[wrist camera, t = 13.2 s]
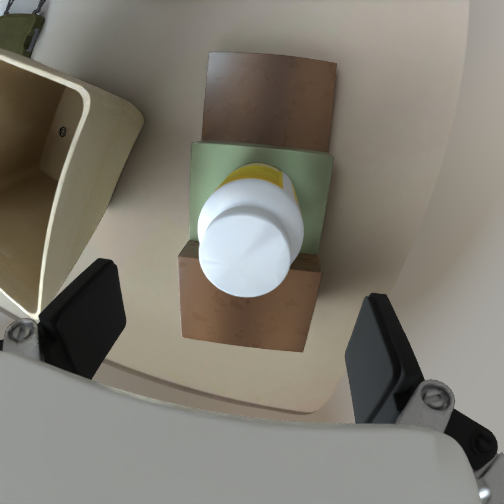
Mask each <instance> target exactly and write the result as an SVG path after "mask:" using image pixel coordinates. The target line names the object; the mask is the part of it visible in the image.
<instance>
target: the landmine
mask: <svg viewBox="0 0 504 504" xmlns="http://www.w3.org/2000/svg"><path fill="white" fill-rule="evenodd" d="M42 1H43V2H42ZM45 1H46V0H40V2H39V5H38V8H37V9H36V10H34V11H33V13H32V14H9V12H8V10H9V9H10V7H11V5H12V4H13V2H14V0H12V2H11V0H9V2H8V5H7V7H6V10H5V12H4V15H3V16H0V48H1V49H4V50H8V51H11V52H14V53H17V54H19V55H22V56H25V57H27V58H30V55H31V52H32V47H33V45H34V42H35V40H36V37H37V35H38V33H39V32H40V30H41V27H42V25H43V22H44V18H43V16H40V15H38V14H36V13H39V12H40V11H41V7H42V6H43V4H44V3H45ZM10 2H11V3H10Z"/></svg>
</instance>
